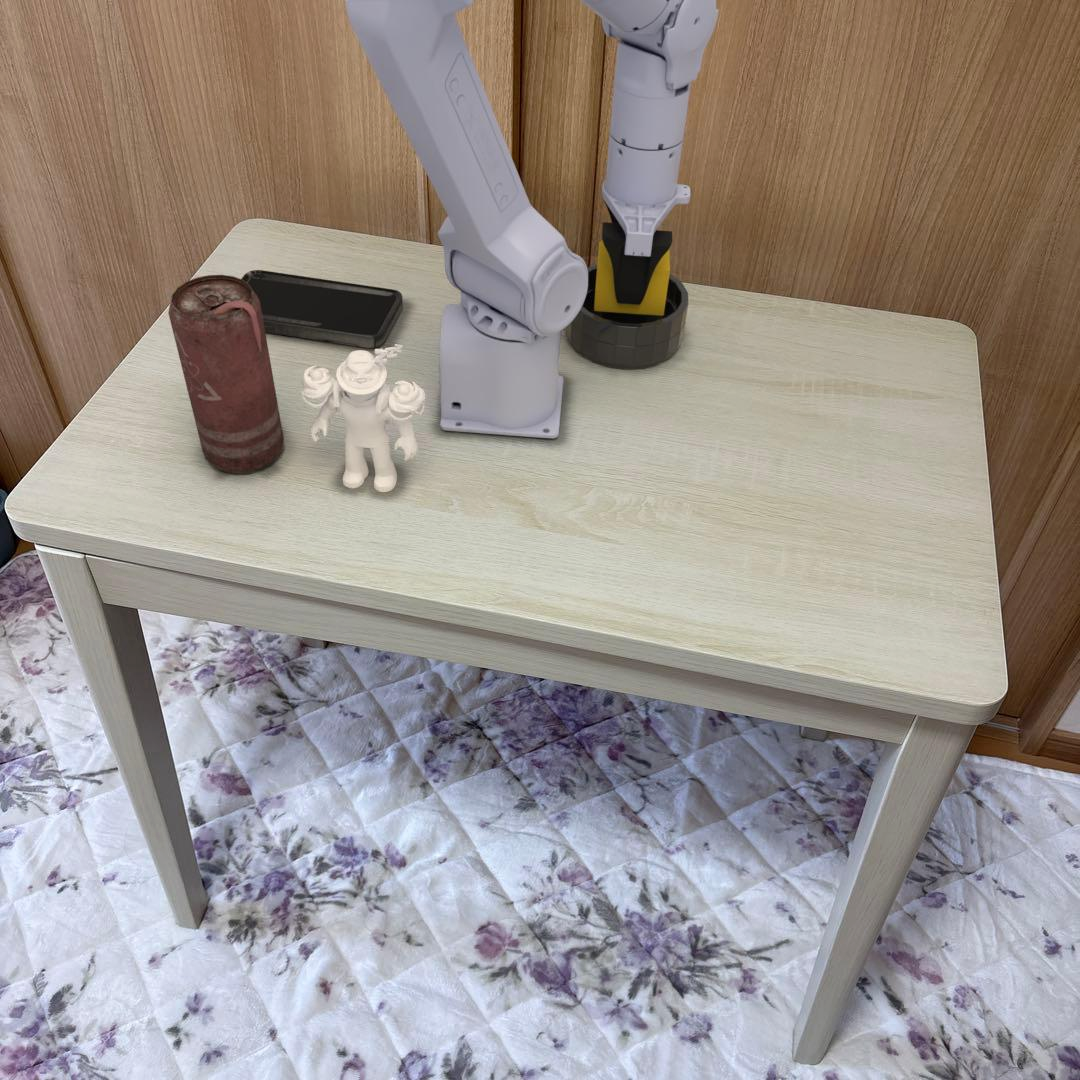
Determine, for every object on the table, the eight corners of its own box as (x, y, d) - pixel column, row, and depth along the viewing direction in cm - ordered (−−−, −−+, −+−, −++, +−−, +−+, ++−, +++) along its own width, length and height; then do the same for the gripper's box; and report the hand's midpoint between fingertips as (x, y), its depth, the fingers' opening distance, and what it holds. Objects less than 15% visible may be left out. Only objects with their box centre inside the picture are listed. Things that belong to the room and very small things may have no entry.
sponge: (593, 311, 91) (597, 265, 88) (595, 286, 94) (599, 240, 90) (663, 316, 91) (670, 270, 87) (663, 291, 93) (669, 245, 90)
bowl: (562, 366, 91) (565, 322, 88) (568, 300, 98) (571, 257, 95) (682, 375, 91) (690, 331, 88) (680, 308, 98) (686, 265, 95)
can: (270, 483, 79) (240, 326, 69) (191, 469, 80) (149, 312, 70) (299, 433, 84) (274, 278, 74) (223, 420, 84) (189, 265, 74)
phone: (249, 268, 98) (405, 290, 96) (251, 279, 99) (406, 301, 97) (214, 314, 92) (379, 339, 91) (216, 325, 93) (380, 350, 91)
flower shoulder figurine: (434, 471, 81) (428, 340, 73) (420, 505, 78) (412, 373, 70) (322, 452, 82) (303, 321, 74) (304, 485, 79) (282, 353, 71)
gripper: (701, 182, 76) (677, 339, 86) (695, 98, 86) (674, 247, 96) (604, 175, 76) (590, 333, 86) (609, 92, 87) (596, 241, 96)
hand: (629, 287), depth 91 cm, fingers closed on sponge, 4 cm apart
